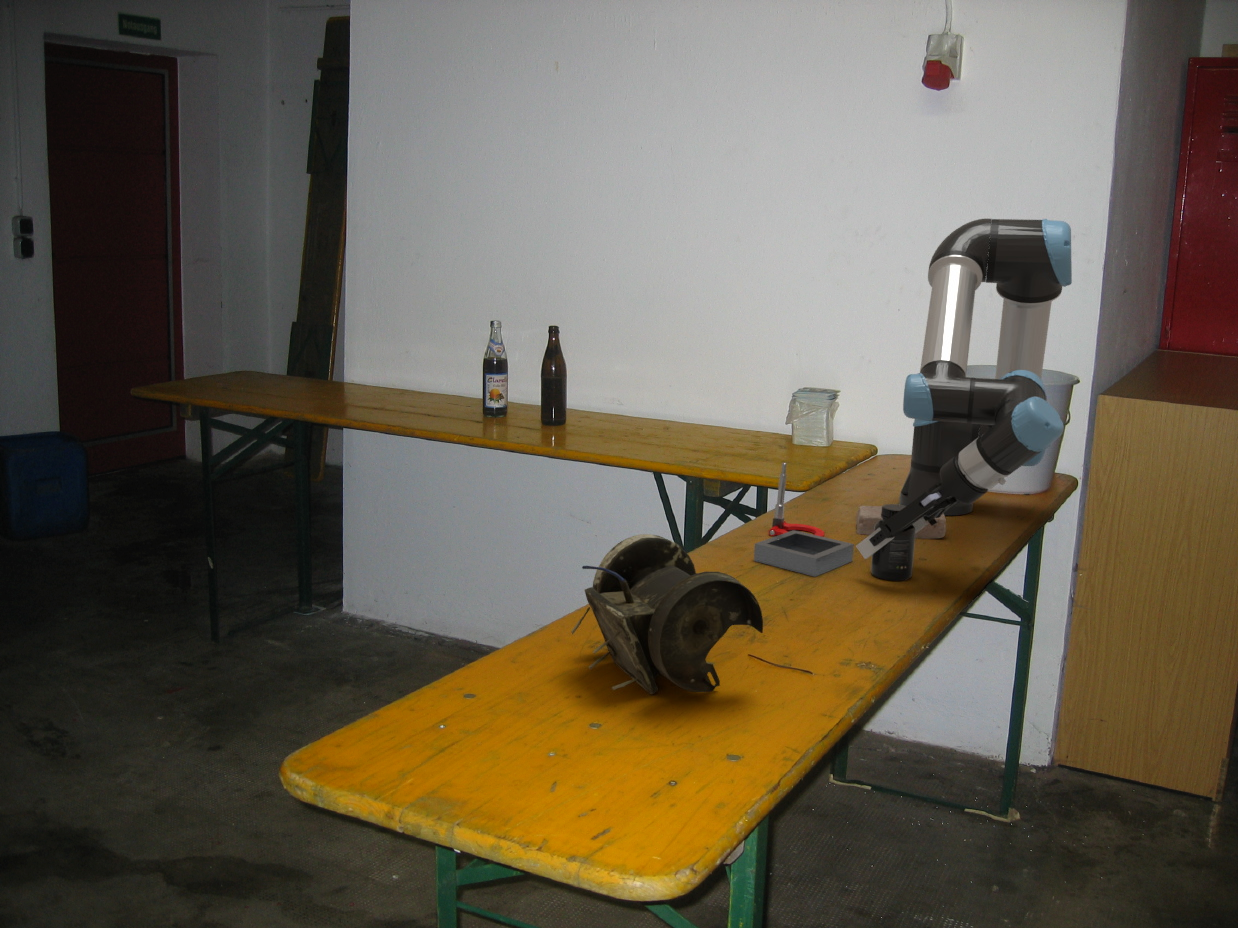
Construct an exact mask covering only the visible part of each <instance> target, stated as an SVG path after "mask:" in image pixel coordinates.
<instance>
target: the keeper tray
mask: <svg viewBox="0 0 1238 928" xmlns="http://www.w3.org/2000/svg"><path fill="white" fill-rule="evenodd" d="M854 545H855V544H854V543H850V542H846V541H842V540H838V539H833V538H829V537H826V536H824V537H821V536H817V535H814V534H813V533H809V532H808V533H807V532H805V531H801V530H789V531H787V533H784V534H781V535H775V536H771V537H770V538H767V539H763V540H761V541H758V542H756V543H754V550H753V551H754V553H753V554H754V556H753V562H755V563H760V564H765V565H768V566H772V567H775V568H779V569H784V570H787V571H792V572H796V573H799V574H803V575H807V576H811V577H818V576H821V575H824V574H825V573H828V572H830V571H833V570H835V569H838V568H840V567H842V566H844V565H847V564H850V563H851V562H853V560H854V559H853V557H854Z"/></svg>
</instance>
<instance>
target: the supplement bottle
mask: <svg viewBox="0 0 1238 928" xmlns="http://www.w3.org/2000/svg"><path fill="white" fill-rule="evenodd" d="M881 506H882V512H881V518H882V521H883V522H885V521H886V520H887V519H889V518H890V517H892V516H893V515H895V514H896V513H897V512H899V511H900V510H902V509H903V508H904V507H906V506H904V505H900V504H899V503H898V504H897V503H896V504H895V503H888V504H884V505H881ZM880 521H881V520H880ZM879 525H880V524H879V521H878V522H877V523H876V524H875V526H874V531H876V530H877V529H878V528H879ZM915 532H916V530H915V527H914V526H913V524H912V525H910V526H909V527H907V528H906V529H904V530H903V531H901V532H899V533H898V534H896V535H895V536H894V538H893V539H892V540H891V541H889V542H888V543H887V544H886V545H884V546H883V547H882V548H880V549H879V550H878V551H876V552H875V553H874V554H873V555H871V562H870V563H871V564H870V565H871V566H870V572H871V575H872V576H873V577H875V578H876V579H880V580H884V581H892V582H902V581H904V582H905V581H907V580H909V579H910V578H911V577H912V575H913V567H914V554H915V541H916V538H915Z"/></svg>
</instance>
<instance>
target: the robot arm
mask: <svg viewBox="0 0 1238 928" xmlns="http://www.w3.org/2000/svg"><path fill="white" fill-rule="evenodd" d="M1072 268H1073V267H1072V229H1071V225H1070V224H1069V223H1067V222H1066V221H1064V220H1051V219H1047V218H1042V219H1017V218H1016V219H1014V218H1013V219H1012V218H1011V219H1009V218H1008V219H1006V218H1005V219H1004V218H1003V219H1002V218H998V219H997V218H979V219H975V220H972V221H969V222H967V223H964V224H963V225H961V226H959V227H957V228H956V229H955V230H953V231H952V232H951V233H949V234H948V235H947V237H945V238H944V239H943V240H942V241H941V243H940V244H939V245H938V246H937V248H936V250H935V251H934V253H933V254H932V256H931V260H930V262H929V264H928V272H927V281H928V284H929V285H930V288H931V290H930V291H931V293H930V300H929V306H928V313H927V320H926V325H925V326H926V327H925V334H924V341H923V349H922V354H921V355H922V356H921V363H920V369H919V373H911V374H908V375H907V376H906V378H905V381H904V382H905V383H904V391H903V402H902V406H903V407H902V411H903V414H904V416H906V418H908V419H912V420H913V419H914V420H913V421H914V422H913V423H912V427H913V433H912V434H913V435H912V445H911V447H912V448H911V456H910V457H911V458H910V467H909V468H910V469H909V471H908V474H907V476H906V479H905V480H904V483H903V485H902V488H901V491H900V493H899V502H898V504H899V505H904V506H906V507H904V508H903V509H902V510H900V511H899V512H897V513H896V514H895V515H893V516H892V517H890V518H889V519H887V520H886V521H885V522H883V521H882V520H881V521H879V524H880V525H879V528H878V529H877V530H876V531H874V532H873V533H872V534H870V535H867V537H866V538H864V539H863V540H861V541H860V542H859V543H857V544H856V545H855V547H856V549H857V550H858V551H859V553H860V554H861V556H862V557H863V559H864V560H867V559H869V558H870V557H872V555H873V554H874V553H875V552H876V551H878V550H879V549H880V548H882V547H883V546H884V545H886V544H887V543H888V542H889V541H891V540H892V539H893V538H894V536H895V535H896V534H898V533H899V532H901V531H903V530H904V529H906V528H907V527H909V526H910V525H912V524H913V526H914V527H915V530H916V532H915V533H917V532H918V531H919V530H921V529H922V528H923V527H925V526H926V525H927V524H928V523H927V522H926V521H928V522H929V523H930V525H931V526H933V525H934V524H936V523H937V521H936V520H935V518H939V517H941V515H942V514H943V513H944V516H961V515H966V514H969V513H971V512H973V507H974V502H976V501H977V500H978V499H980V498H981V497H982V496H984V495H985V494H987V493H988V491H989V490H990V489H992V488H993V487H995V486H996V485H998V484H999V485H1002V486H1003V485H1005V484H1006V482H1007V480H1006V479H1005V478H1006V477H1007V478H1008V476H1010V475H1012V474H1013V473H1015V471H1017V470H1018V469H1019V468H1021V467H1035V466H1037V465H1039V464H1040V463H1041V461H1042V460H1043V458H1044V456H1045V452H1046V450H1047V449H1048V448H1049V447H1050V446H1051V445H1052V444H1053V443H1054V442H1056V441H1057V440H1058V439H1059V438H1060V437H1061V436H1062V435H1063V433H1064V429H1065V428H1064V427H1065V426H1064V423H1063V421H1062V419H1061V416H1060V414H1059V413H1058V411H1057V410H1056V409H1055V408H1054V406H1052V405H1051V403H1049V402H1048V401H1047V400H1048V399H1047V398H1048V397H1047V394H1046V387H1045V385H1044V382H1043V380H1042V375H1043V367H1044V361H1045V360H1044V359H1045V353H1046V347H1047V346H1046V345H1047V339H1048V331H1049V323H1050V316H1051V315H1050V314H1051V308H1052V302H1053V301H1055V300H1056V299H1058V298H1059V297H1060V296H1061V294H1062V291H1063V288H1064V287H1067V286H1071V285H1072V283H1073V279H1072V275H1073V273H1072V271H1073V270H1072ZM982 283H987V284H988V283H989V284H996V287H995V290H996V293H997V294H998V295H999V297H1001V298H1002V299H1003V301H1002V302H1003V303H1002V311H1001V320H1000V328H999V329H1000V330H999V338H998V339H999V340H998V349H997V360H996V367H995V368H996V369H995V378H985V377H983V378H982V377H969V376H968V377H967V370H968V361H969V352H970V341H971V333H972V324H973V313H974V306H975V296H976V295H975V294H976V291H977V290H978V289H979V287H980V286H981V284H982Z"/></svg>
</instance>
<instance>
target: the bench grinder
mask: <svg viewBox="0 0 1238 928" xmlns="http://www.w3.org/2000/svg"><path fill="white" fill-rule="evenodd" d="M588 569H589V570H596V572H595V575H594V578H593V581H592V586H591V587H588V588H585V589H584V593H585V596H586V601H587V603H588V604H589V606H588V608H587V609H586V611H585V613H584V614H583V616H582V617H581V618H580V619H579V620H578V621H577V623H576V624H575V626H574V627H573V629H572V630H571V631H570V633H571V635H574V634H575V632H576V631H577V629H578V628H579V626H580V625H581V624H582V621H583V620H584V618H585V617H586V615H587V614H588V612H589V611H590V609H591V611H592V613H593V615H594V618H595V619H596V622H597V624H598V628H599V630H600V632H601V634H602V637H603V640H604V642H603V643H602V644H601V645H599V646H598V647H597V648H596V649H595V648H594V650H593V651H592V653H593V654H594V655H595V654H596V653H598V652H599V651H600V650H602V649H603V648H604V647H606V649H607V651H608V652H606V653H605V654H604V655H602V656H601V657H599V658H598V659H596V660H595V661H594V662H593V663H592V664H590V665H589V666H588V668H589V670H592V669H593V668H594V667H596V665H598V664H600V662H601V661H603V659H604V658H606V657H607V656H608V655H610V657H611V659H612V661H613V662H614V664H616V665H617V667H618V668H620V669H621V670H622V671H623V672H624V673H626V674H627V675H628V676H629V677H630V678H631V679H630V680H628V681H625V682H621V683H620V684H617V685H614V686H612V687H611V689H612V691H615V690H618V689H620V688H624V687H626V686H628V685H630V684H632V683H633V682H635V683H637V684H638V685H640V687H642V688H643V689H644V690H645V691H646V692H647V693H648V694H650V695H655V693H656V692H657V691H658V690H659V688H658V685H657V683H656V679H657V677H658V676H659V675H660V674H661V676H663V677H664V678H666V679H667V680H669V681H670V682H672V683H673V684H674V685H676V686H678V687H679V688H681V689H683V690H686V691H688V692H694V693H708V692H709V693H710V692H714V691H715V689H716V688H717V687H719V686H721V682H720V681H721V679H719V676H718V673H717V671H716V668H715V666H714V664H713V663H708V662H707V660H706V659H707V657H708V655H709V653H710V651H712V649H713V648H714V646H715V645H716V644H717V643H718V642H719V641H720V640H721V639H722V637H723V636H724V635H725V634H726V633H727V632H728V631H729V629H730V628H731V627H732V626H750V627H752V628H754V629H755V630H757V632H759V633H760V634H763V633H764V619H763V612H762V609H761V606H760V602H758V599H757V598H756V596H755V595H754V594H753V592H752V591H751V590H750V589H749V588H748V587H746V585H744V584H742V583H741V582H740V581H739V580H738V579H736V578H735V576H734V577H733V576H732V575H730V574H727V573H723V572H720V571H703V572H702V571H701V572H696V567H695V563H694V562H693V560H692V559H691V557H690V554H689V553H687V552H686V550H684V549H683V548H682V547H681V545H679V544H678V543H677V542H675V541H672V540H671V539H670V540H669V539H667V538H666V537H663V536H660V535H656V534H651V533H650V534H648V533H646V534H645V533H644V534H636V535H635V534H634V535H633V536H630V537H628V538H625V539H623V540H621V541H619V542H618V543H617V544H616V545H614V546H613V547H612V548H611V549H610V550H609V551H608V552H607V553H606V554H605V556H604V557H603V559H602V560H601V562H600V564H599V565H598V566H593V565H583V566H582V570H588ZM708 674H711V677H712V679H713V681H714V684H712V681H711V680H710V678H709V677H710V676H709V675H708Z"/></svg>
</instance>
